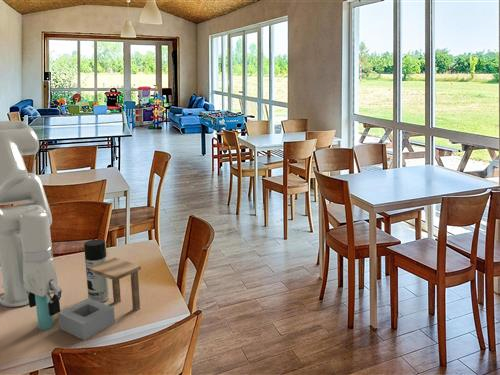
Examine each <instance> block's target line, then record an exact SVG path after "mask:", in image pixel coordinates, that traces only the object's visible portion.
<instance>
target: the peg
mask: <svg viewBox="0 0 500 375" xmlns="http://www.w3.org/2000/svg"><path fill="white" fill-rule="evenodd" d="M50 291H51V290H49V292H50ZM35 301H36V306H35V310H36V315H37V316H36V318H37V325H38V330H40V331H47V330H50V329H52V328H53V327H54V318H53V316H54V315H53V316H50V315H49V309H48V303H49V301H48V299H47V297H46V295H45V296H44V297H41V296H38V295H36V294H35Z"/></svg>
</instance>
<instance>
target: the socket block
mask: <svg viewBox="0 0 500 375" xmlns="http://www.w3.org/2000/svg"><path fill="white" fill-rule="evenodd" d="M57 314H58V322H59V329H60V330H62V331H64V332H66V333H68V334H71V335H73V336H74V337H77V338H78V339H81V340H83V341H85V340H87V339H88V338H91V337H93V336H94V335H96V334H97V333H100V332H101V331H103V330H105V329H107V328H108V327H110V326H113V325H114V324H115V323H116V321H115V320H116V318H115V316H116V315H115V307H112V306H111V305H108V304H105V303H104V302H103V303H101V302H98V301H96V300H93V299H91V298H89V299H88V298H87V299H86V300H83V301H81V302H79V303H77V304H75V305H73V306H71V307H68V308H66V309H65V310H64V309H63V310H61V311H60V312H59V313H57Z"/></svg>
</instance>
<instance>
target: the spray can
mask: <svg viewBox="0 0 500 375" xmlns="http://www.w3.org/2000/svg"><path fill="white" fill-rule="evenodd" d="M106 246H107V244H106V241H105V240H103V239H101V238H98V239H90V240H87V241H85V242H84V244H83V247H84V262H85V272H86V285H87V286H86V287H87V296H88V298H87V299H89V298H91V299H93V300H96V301H98V302H101V303H103V304H104V303H106V302H107V301H108V300H109V299H110V287H109V278H106V277H103V276H100V275H98V274H95V273H92V272H89V268H90V267H93V266H95V265H98V264H100V263H103V262H105V261H108V260H107V259H108V258H107V248H106Z"/></svg>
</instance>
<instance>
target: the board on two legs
mask: <svg viewBox="0 0 500 375" xmlns="http://www.w3.org/2000/svg"><path fill="white" fill-rule="evenodd" d="M140 270H142V266H141V265H140V264H136V263H133V262H131V261H126V260H124V259H120V258H118V257H113V258H111V259H109V260H107V261H105V262H103V263H100V264H98V265H95V266H93V267H90V268H89V272H92V273H95V274H98V275H100V276H103V277H106V278H108V280H111V282H112V285H111V286H112V297H113V299H112V300H113V303H115V304H118V303H120V302H122V298H121V285H120V279H123V278H126V277H127V276H130V285H131V286H130V288H131V300H132V301H131V302H132V310H134V311H139V310H141V302H140V284H139V271H140Z"/></svg>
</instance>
